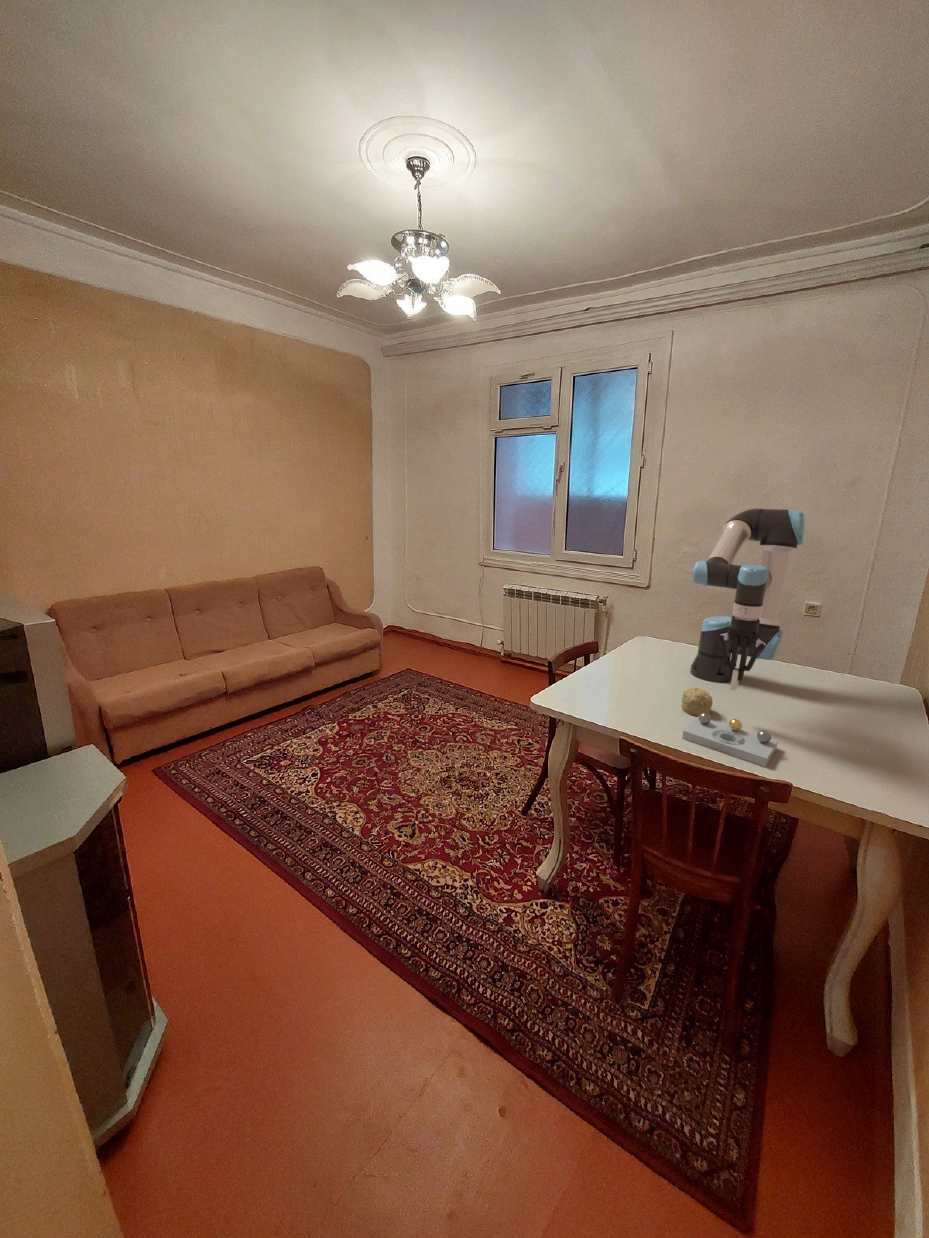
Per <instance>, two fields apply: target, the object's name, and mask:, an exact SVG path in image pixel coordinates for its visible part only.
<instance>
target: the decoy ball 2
mask: <svg viewBox="0 0 929 1238" xmlns="http://www.w3.org/2000/svg"><path fill="white" fill-rule="evenodd" d="M756 734H757V739H758V740H759V741H760V742H762V743H768V742H769V741H770V740H771V739H772V735H771V733H770V732H769V731H767V730H760V731H758V732H757V733H756Z"/></svg>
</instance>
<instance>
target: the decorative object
mask: <svg viewBox="0 0 929 1238" xmlns="http://www.w3.org/2000/svg"><path fill="white" fill-rule="evenodd" d="M712 707H713V696H711V694H710V693H709V692H707V690H705V689H703V688H698V687H689V688H685V690H683V693H682V697H681V709H682V710H683V712H685V713H687V714H688V715H692V716H697V717H698V716H699V715H700V714H701V713H708V714H709V715H710V713H711V711H712Z"/></svg>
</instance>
